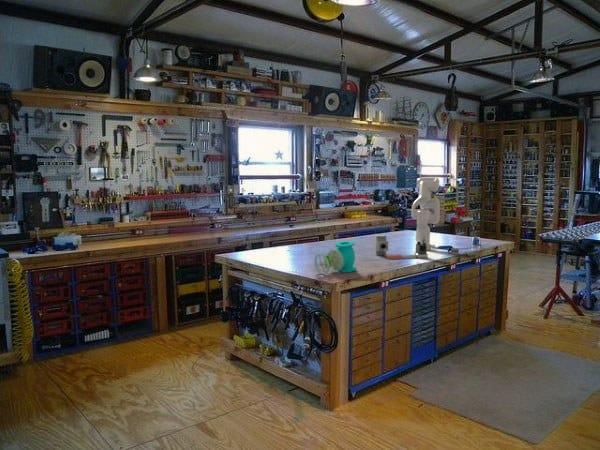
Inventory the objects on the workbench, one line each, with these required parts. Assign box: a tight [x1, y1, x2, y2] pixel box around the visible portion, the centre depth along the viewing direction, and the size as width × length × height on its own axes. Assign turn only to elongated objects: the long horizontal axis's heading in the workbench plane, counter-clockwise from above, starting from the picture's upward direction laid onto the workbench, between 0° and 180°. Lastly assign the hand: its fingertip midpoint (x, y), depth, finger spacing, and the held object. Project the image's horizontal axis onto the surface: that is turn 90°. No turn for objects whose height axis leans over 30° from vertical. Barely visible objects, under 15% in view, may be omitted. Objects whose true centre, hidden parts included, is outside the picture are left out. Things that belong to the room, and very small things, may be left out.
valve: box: [313, 240, 357, 276], centre depth 324 cm, size 14×18×30 cm
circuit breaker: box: [372, 234, 389, 256], centre depth 389 cm, size 8×14×15 cm, turn 11°
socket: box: [415, 243, 427, 254], centre depth 378 cm, size 6×6×7 cm
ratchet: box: [384, 252, 429, 260], centre depth 376 cm, size 33×10×7 cm, turn 101°
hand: (421, 250), depth 378 cm, fingers open, 7 cm apart
